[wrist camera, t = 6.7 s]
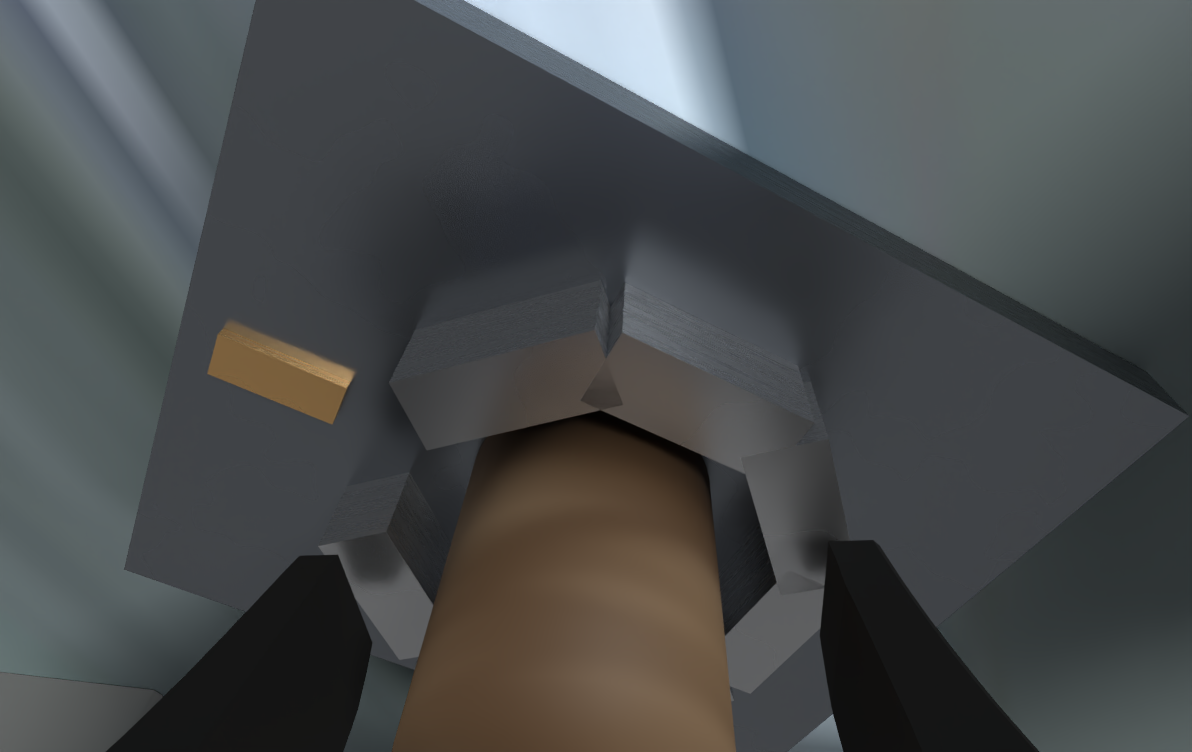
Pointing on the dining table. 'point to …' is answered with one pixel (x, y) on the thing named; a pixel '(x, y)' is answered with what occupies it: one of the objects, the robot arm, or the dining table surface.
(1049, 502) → the hub plate
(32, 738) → the lighter
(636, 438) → the knob
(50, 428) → the dining table surface
